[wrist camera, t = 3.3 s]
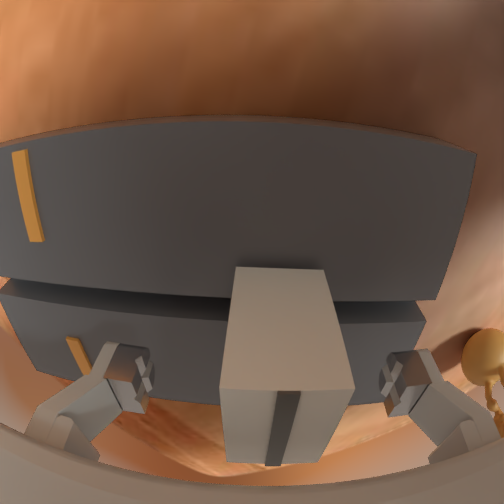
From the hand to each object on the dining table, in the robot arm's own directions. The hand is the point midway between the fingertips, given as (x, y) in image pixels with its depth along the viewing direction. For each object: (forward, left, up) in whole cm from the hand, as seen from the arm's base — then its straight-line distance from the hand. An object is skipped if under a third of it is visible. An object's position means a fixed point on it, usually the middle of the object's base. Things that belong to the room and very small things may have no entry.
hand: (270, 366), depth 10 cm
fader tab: (0, 0, -4) cm, 4 cm away
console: (+4, 0, -6) cm, 7 cm away
